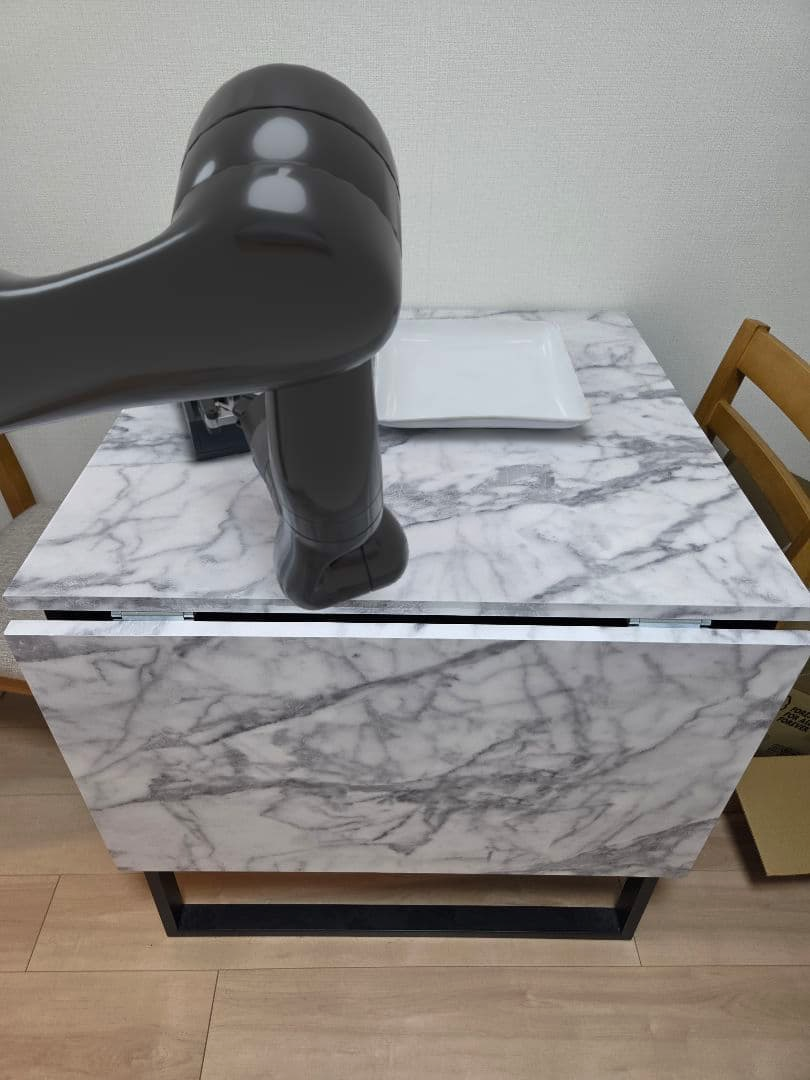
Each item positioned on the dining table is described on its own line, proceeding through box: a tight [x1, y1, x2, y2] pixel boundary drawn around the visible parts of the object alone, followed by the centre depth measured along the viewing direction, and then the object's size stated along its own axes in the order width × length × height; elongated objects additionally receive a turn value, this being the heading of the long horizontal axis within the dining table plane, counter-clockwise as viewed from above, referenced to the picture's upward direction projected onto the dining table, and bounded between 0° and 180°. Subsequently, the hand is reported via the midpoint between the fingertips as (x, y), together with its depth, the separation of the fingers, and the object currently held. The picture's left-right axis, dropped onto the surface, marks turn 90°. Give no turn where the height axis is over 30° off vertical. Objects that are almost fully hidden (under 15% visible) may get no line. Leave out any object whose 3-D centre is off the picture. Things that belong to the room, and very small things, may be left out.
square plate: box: [373, 318, 593, 429], centre depth 101 cm, size 27×27×4 cm
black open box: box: [180, 400, 251, 462], centre depth 95 cm, size 17×17×6 cm
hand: (255, 365), depth 82 cm, fingers open, 8 cm apart
